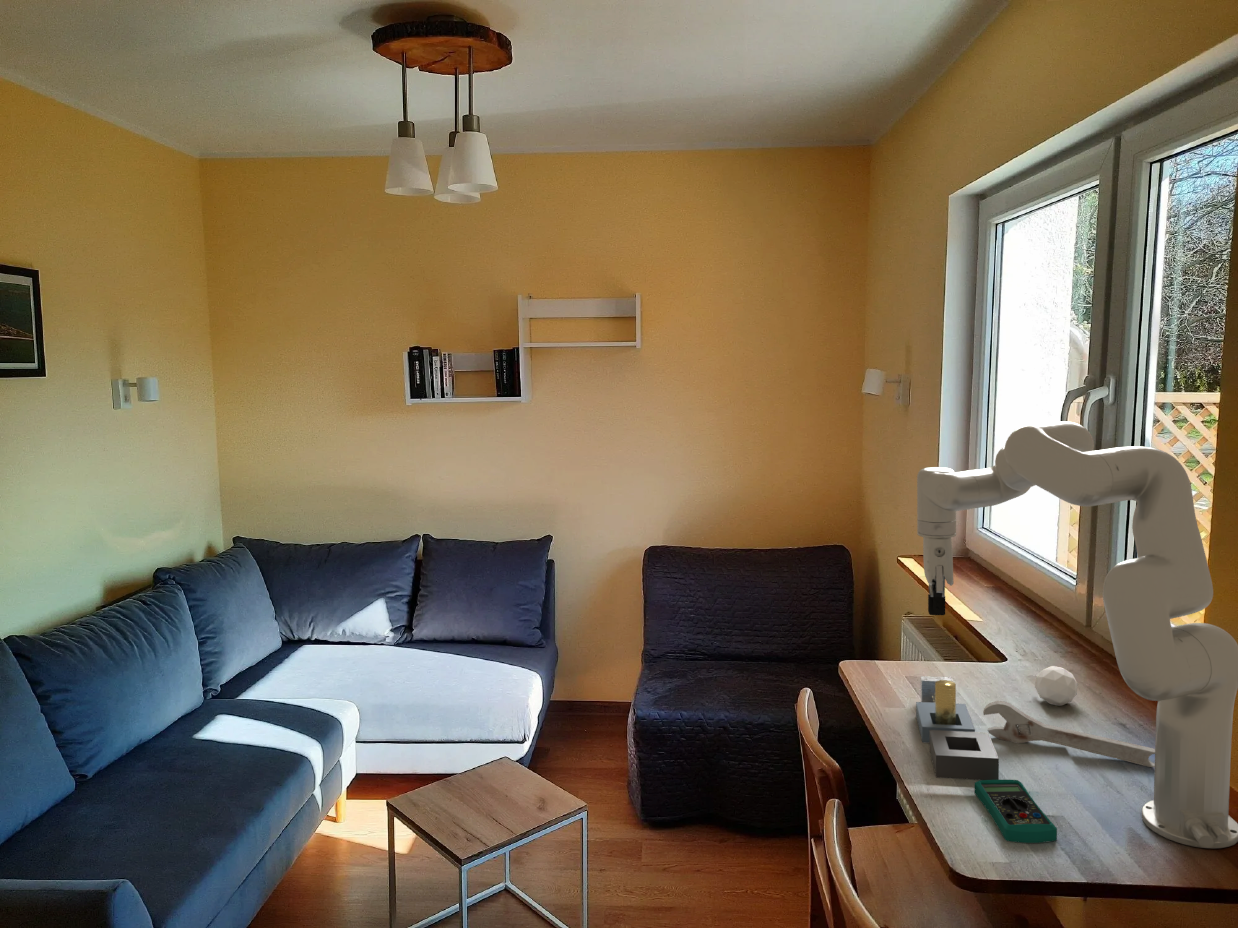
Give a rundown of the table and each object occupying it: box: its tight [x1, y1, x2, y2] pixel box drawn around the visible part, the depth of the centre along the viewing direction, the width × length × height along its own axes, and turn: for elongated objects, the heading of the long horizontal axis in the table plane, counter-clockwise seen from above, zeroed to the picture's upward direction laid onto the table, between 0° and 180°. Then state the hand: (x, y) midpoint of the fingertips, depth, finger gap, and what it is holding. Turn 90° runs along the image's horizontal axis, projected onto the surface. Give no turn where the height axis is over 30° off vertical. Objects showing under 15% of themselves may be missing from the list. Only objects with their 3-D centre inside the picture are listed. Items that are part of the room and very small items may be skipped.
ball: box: [1034, 665, 1079, 707], centre depth 179 cm, size 8×8×8 cm
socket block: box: [915, 701, 976, 744], centre depth 167 cm, size 12×9×4 cm
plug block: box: [920, 675, 954, 703], centre depth 176 cm, size 9×6×6 cm
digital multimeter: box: [974, 779, 1058, 844], centre depth 138 cm, size 8×15×3 cm, turn 176°
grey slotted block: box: [929, 730, 1000, 781], centre depth 153 cm, size 10×10×5 cm
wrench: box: [982, 700, 1155, 768], centre depth 158 cm, size 8×2×30 cm
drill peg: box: [935, 680, 957, 725], centre depth 165 cm, size 4×4×10 cm
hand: (936, 613), depth 182 cm, fingers closed
